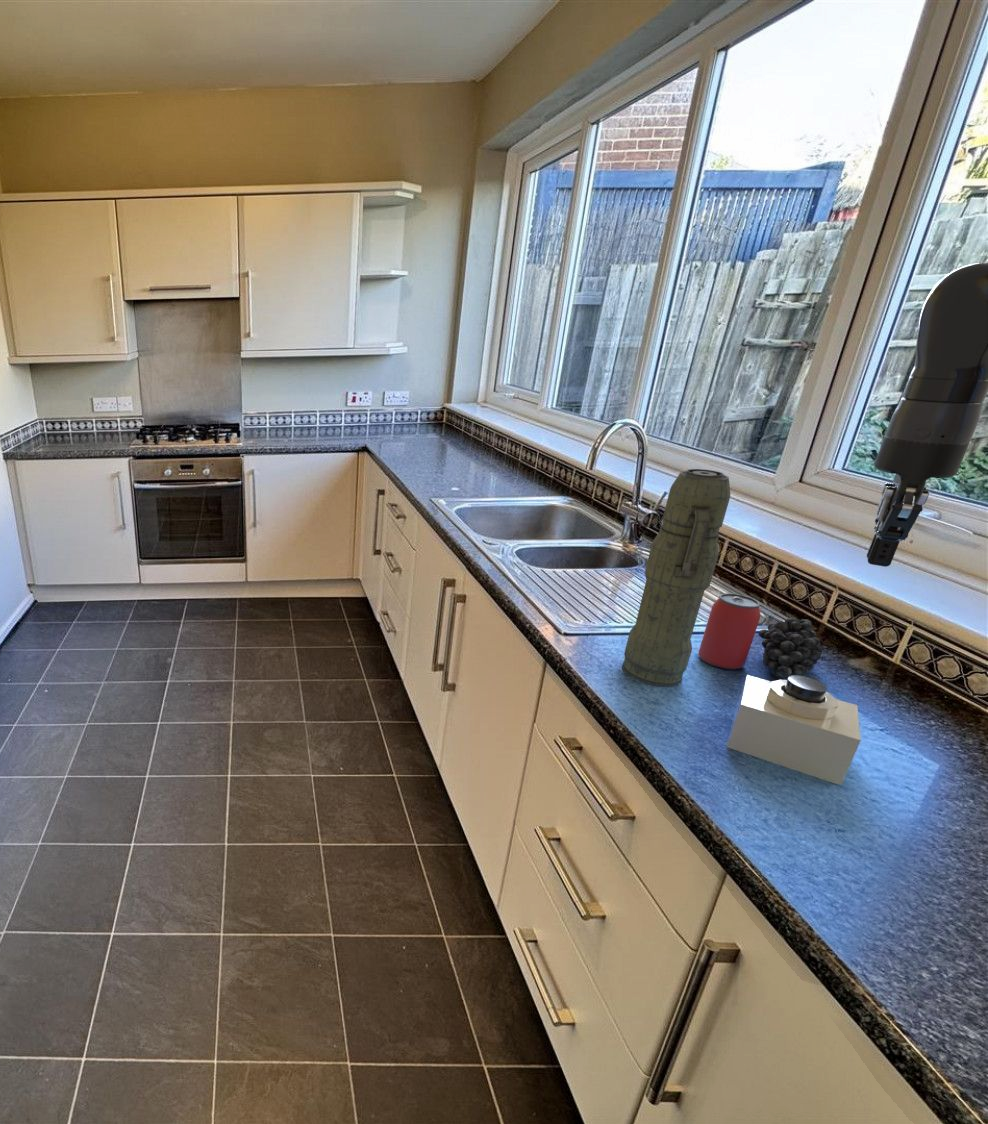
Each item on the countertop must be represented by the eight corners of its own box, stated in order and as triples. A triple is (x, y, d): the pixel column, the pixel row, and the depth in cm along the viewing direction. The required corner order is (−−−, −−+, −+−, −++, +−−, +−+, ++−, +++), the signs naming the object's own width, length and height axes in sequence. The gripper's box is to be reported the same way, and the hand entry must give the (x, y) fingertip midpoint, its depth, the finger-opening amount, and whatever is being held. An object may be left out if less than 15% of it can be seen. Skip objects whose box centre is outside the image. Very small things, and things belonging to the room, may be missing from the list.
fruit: (813, 643, 96) (822, 611, 105) (745, 642, 102) (759, 611, 112) (819, 695, 97) (827, 658, 107) (752, 690, 103) (765, 655, 113)
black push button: (821, 695, 84) (827, 682, 83) (822, 708, 81) (827, 694, 80) (783, 684, 86) (788, 671, 85) (782, 696, 83) (787, 684, 83)
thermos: (670, 660, 109) (724, 465, 96) (692, 696, 99) (756, 483, 86) (614, 652, 112) (659, 462, 99) (629, 686, 102) (682, 479, 89)
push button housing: (839, 748, 86) (862, 693, 83) (841, 786, 80) (866, 728, 76) (733, 715, 94) (750, 664, 91) (726, 747, 87) (744, 693, 84)
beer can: (738, 656, 110) (757, 595, 106) (748, 674, 105) (769, 610, 100) (693, 649, 113) (711, 589, 108) (701, 666, 107) (720, 604, 103)
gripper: (980, 447, 71) (921, 584, 78) (961, 432, 81) (910, 555, 87) (889, 440, 76) (841, 570, 82) (882, 426, 86) (839, 543, 92)
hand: (877, 561), depth 85 cm, fingers closed
